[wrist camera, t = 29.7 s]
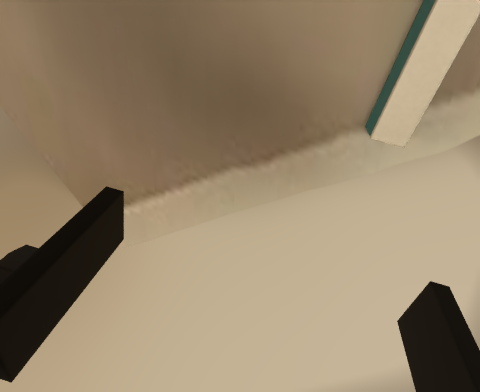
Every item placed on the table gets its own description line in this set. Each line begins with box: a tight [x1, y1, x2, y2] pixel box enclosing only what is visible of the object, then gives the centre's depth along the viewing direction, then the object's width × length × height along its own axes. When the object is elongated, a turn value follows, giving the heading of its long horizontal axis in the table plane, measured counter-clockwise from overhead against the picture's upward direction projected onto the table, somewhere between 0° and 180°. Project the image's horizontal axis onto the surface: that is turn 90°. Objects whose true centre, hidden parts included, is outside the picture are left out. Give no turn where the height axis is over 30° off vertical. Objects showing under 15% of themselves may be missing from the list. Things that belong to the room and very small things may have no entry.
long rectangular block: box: [366, 0, 480, 148], centre depth 36 cm, size 22×4×5 cm, turn 168°
